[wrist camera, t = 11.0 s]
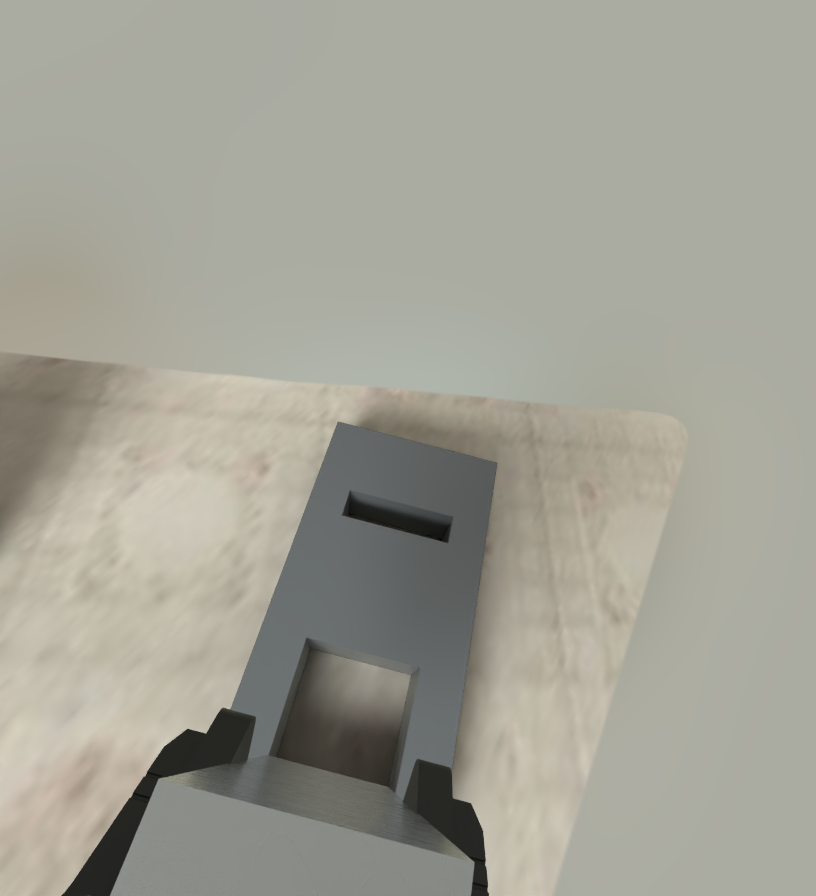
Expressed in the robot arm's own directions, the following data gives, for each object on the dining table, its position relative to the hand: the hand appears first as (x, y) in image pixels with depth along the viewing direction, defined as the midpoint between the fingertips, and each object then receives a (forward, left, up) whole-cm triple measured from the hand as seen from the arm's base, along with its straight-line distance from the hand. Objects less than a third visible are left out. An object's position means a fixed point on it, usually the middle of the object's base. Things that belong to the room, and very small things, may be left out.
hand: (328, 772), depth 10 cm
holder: (-3, +5, -16) cm, 17 cm away
